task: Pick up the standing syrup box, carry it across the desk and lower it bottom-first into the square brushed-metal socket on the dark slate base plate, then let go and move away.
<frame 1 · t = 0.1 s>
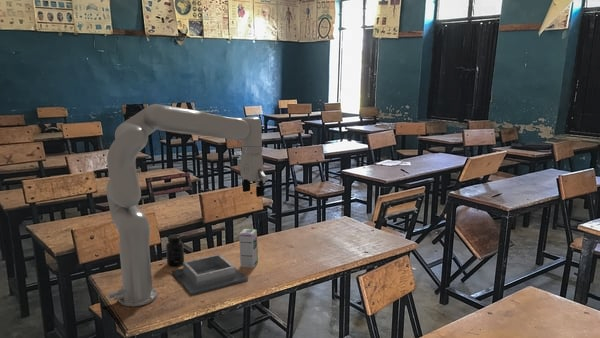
hand: (253, 193, 174), 31 cm above the table, tool pointing down, fingers open, 9 cm apart
supplement bottle: (175, 264, 185), on the table
syrup box: (249, 265, 184), on the table
socket: (209, 276, 173), on the table
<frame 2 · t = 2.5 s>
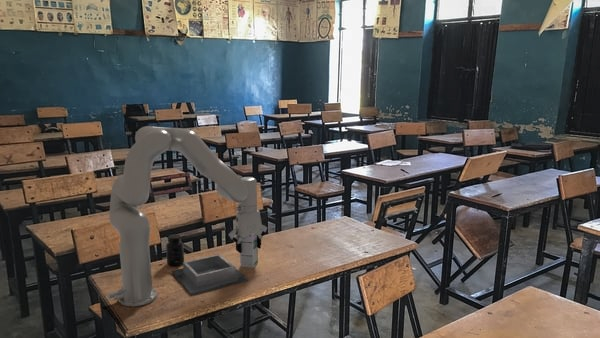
hand: (248, 249, 182), 7 cm above the table, tool pointing down, fingers closed on syrup box, 8 cm apart
syrup box: (249, 265, 184), on the table, touching gripper
everything else where it was.
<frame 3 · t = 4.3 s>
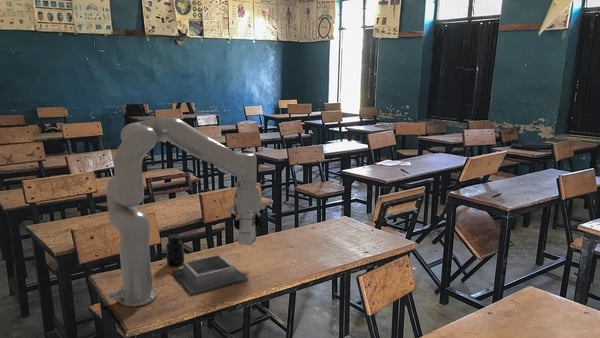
hand: (246, 226, 180), 16 cm above the table, tool pointing down, fingers closed on syrup box, 8 cm apart
syrup box: (246, 243, 181), point 10 cm above the table, touching gripper
everything else where it was.
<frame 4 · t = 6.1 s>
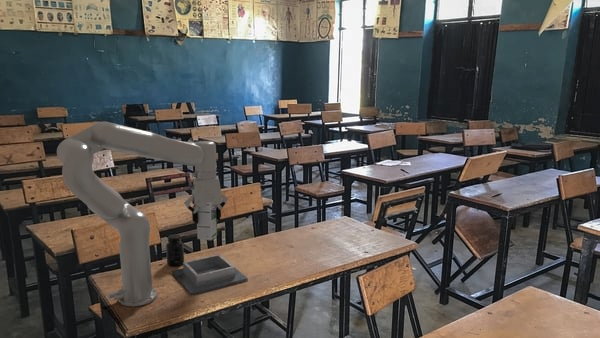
hand: (206, 220, 168), 22 cm above the table, tool pointing down, fingers closed on syrup box, 8 cm apart
syrup box: (207, 237, 169), point 16 cm above the table, touching gripper
everything else where it was.
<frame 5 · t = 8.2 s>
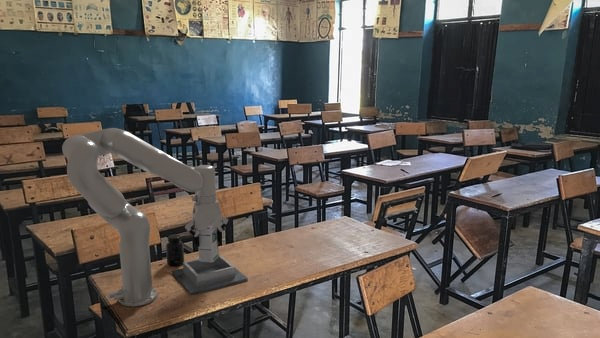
hand: (208, 243, 170), 14 cm above the table, tool pointing down, fingers closed on syrup box, 8 cm apart
syrup box: (208, 259, 171), point 7 cm above the table, touching gripper
everything else where it was.
when the fingers open (9 cm above the table, at t = 9.8 s): syrup box drops 1 cm, resting on socket.
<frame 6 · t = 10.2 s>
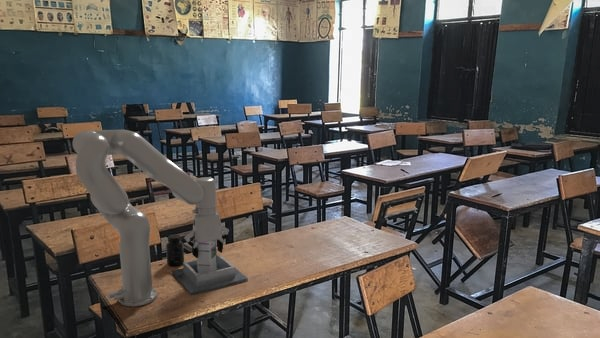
hand: (208, 254, 171), 9 cm above the table, tool pointing down, fingers open, 9 cm apart
syrup box: (207, 275, 172), point 1 cm above the table, touching gripper, socket
everything else where it was.
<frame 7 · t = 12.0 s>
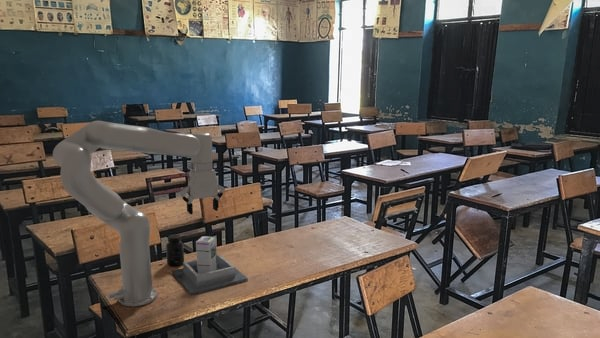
hand: (203, 211, 168), 26 cm above the table, tool pointing down, fingers open, 9 cm apart
syrup box: (207, 275, 172), point 1 cm above the table, touching socket
everything else where it was.
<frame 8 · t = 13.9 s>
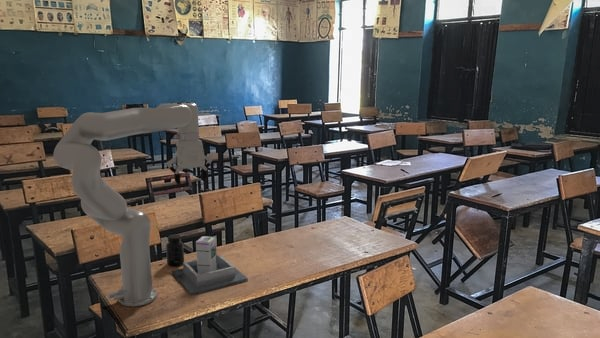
hand: (190, 182, 170), 36 cm above the table, tool pointing down, fingers open, 9 cm apart
nothing on the table moved.
at the end: syrup box 0.6 cm off-centre on the socket, point 0.8 cm above the socket's base; syrup box tilted 0°; the gripper is holding nothing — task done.
